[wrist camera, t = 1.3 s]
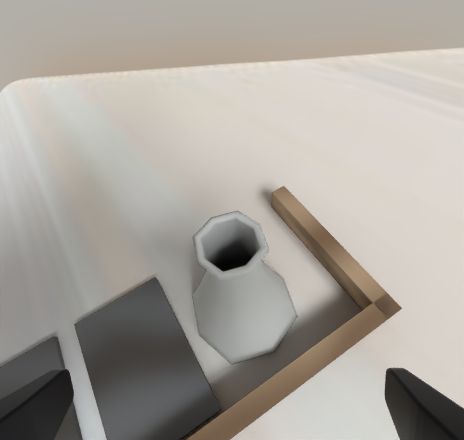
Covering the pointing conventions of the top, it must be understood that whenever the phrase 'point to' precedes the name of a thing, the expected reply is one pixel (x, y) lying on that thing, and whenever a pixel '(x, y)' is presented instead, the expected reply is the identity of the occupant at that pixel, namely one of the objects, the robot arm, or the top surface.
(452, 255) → the top surface
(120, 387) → the box
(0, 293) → the top surface
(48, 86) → the top surface
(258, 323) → the flask
